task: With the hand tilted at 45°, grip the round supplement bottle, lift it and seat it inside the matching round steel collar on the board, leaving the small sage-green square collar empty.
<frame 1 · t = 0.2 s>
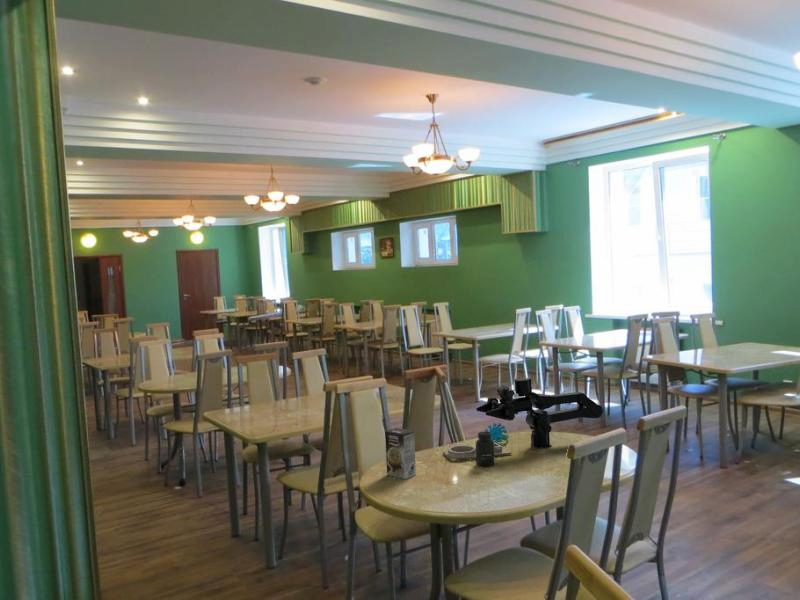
hand: (481, 411, 260), 17 cm above the table, tool horizontal, fingers open, 9 cm apart
coffee box: (401, 475, 239), on the table
socket board: (476, 454, 260), on the table
gear: (496, 443, 276), on the table
supplement bottle: (485, 465, 246), on the table
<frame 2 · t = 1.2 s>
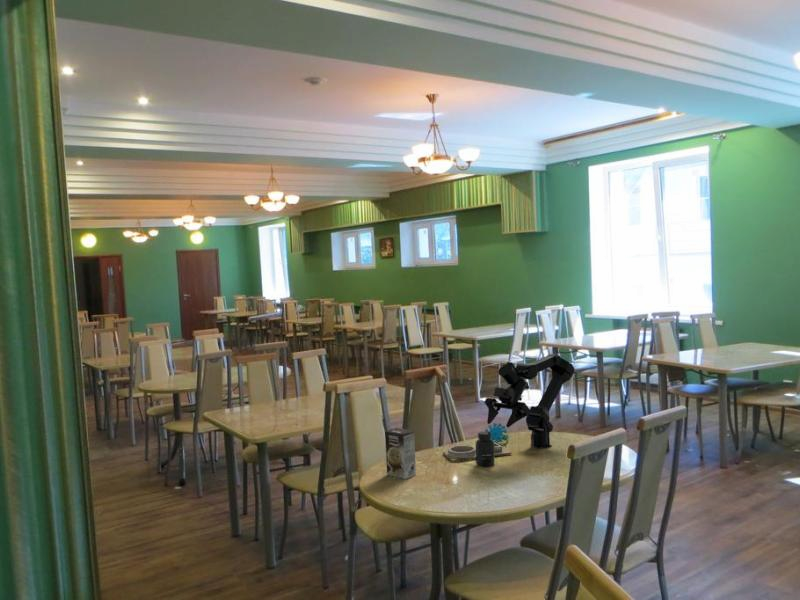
hand: (497, 425, 250), 13 cm above the table, tool tilted 45°, fingers open, 9 cm apart
nothing on the table moved.
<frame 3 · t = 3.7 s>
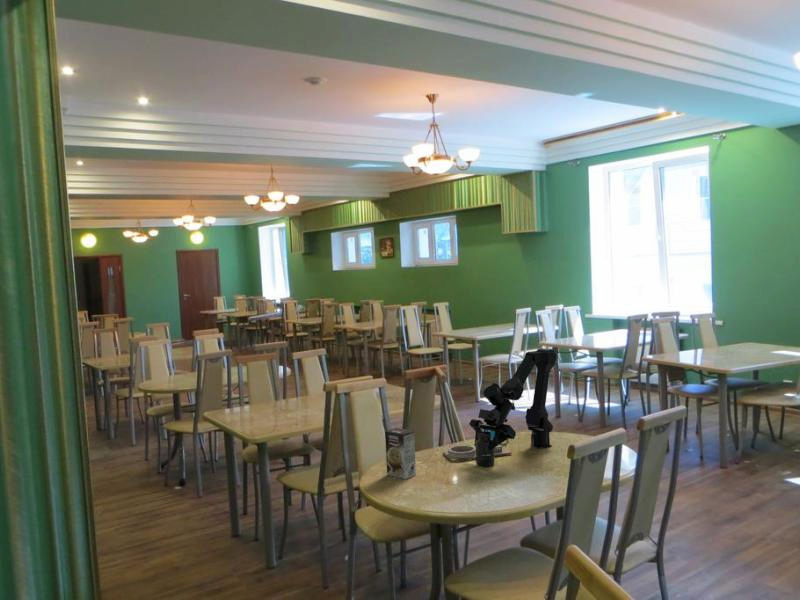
hand: (482, 448, 244), 7 cm above the table, tool tilted 45°, fingers closed on supplement bottle, 7 cm apart
supplement bottle: (485, 465, 246), on the table, touching gripper
everything else where it was.
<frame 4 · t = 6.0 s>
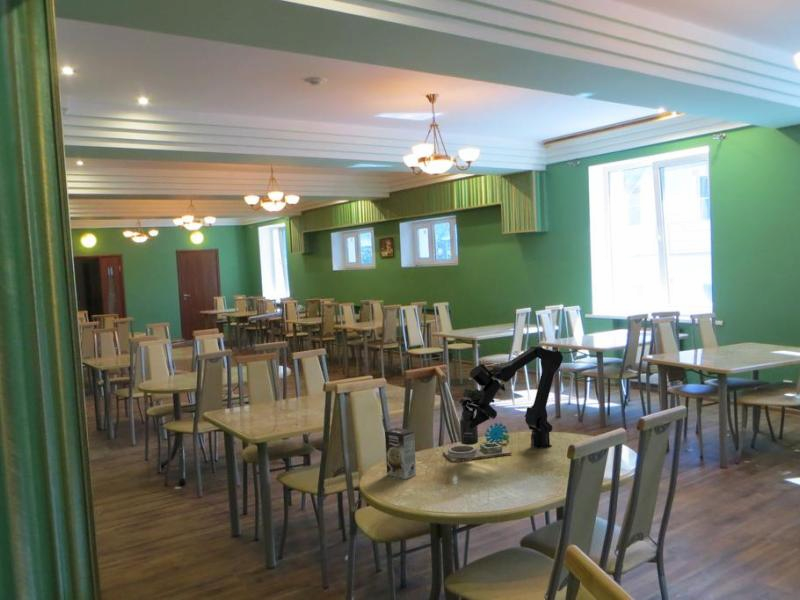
hand: (465, 426, 252), 13 cm above the table, tool tilted 45°, fingers closed on supplement bottle, 7 cm apart
supplement bottle: (469, 443, 253), point 6 cm above the table, touching gripper
everything else where it was.
when the fingers open (8 cm above the table, at t = 8.2 s): supplement bottle stays where it is, resting on socket board.
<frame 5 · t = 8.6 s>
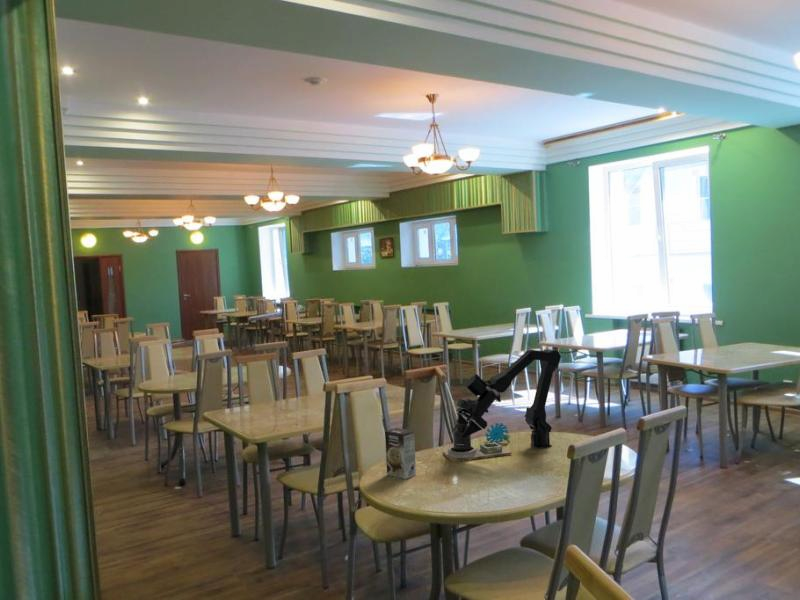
hand: (458, 434, 257), 9 cm above the table, tool tilted 45°, fingers open, 9 cm apart
supplement bottle: (462, 454, 258), point 1 cm above the table, touching socket board
everything else where it was.
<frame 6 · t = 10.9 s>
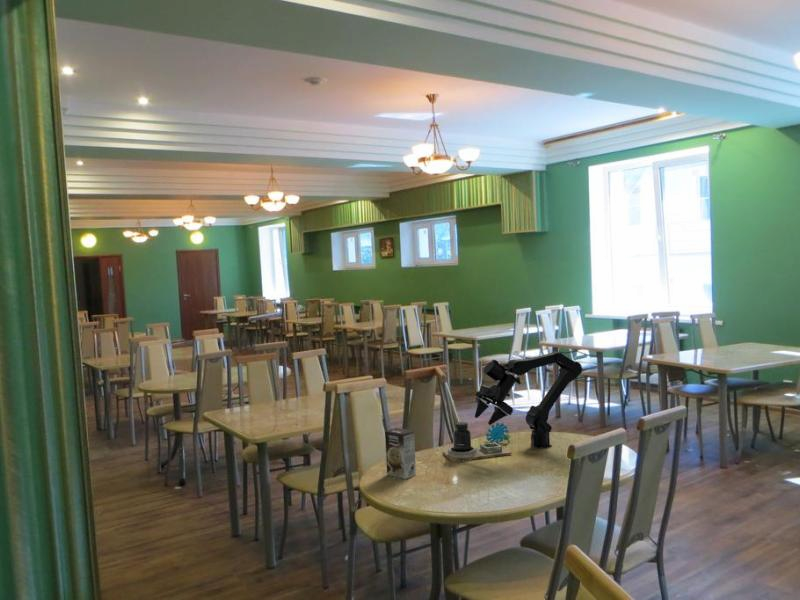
hand: (482, 420, 259), 13 cm above the table, tool tilted 40°, fingers open, 9 cm apart
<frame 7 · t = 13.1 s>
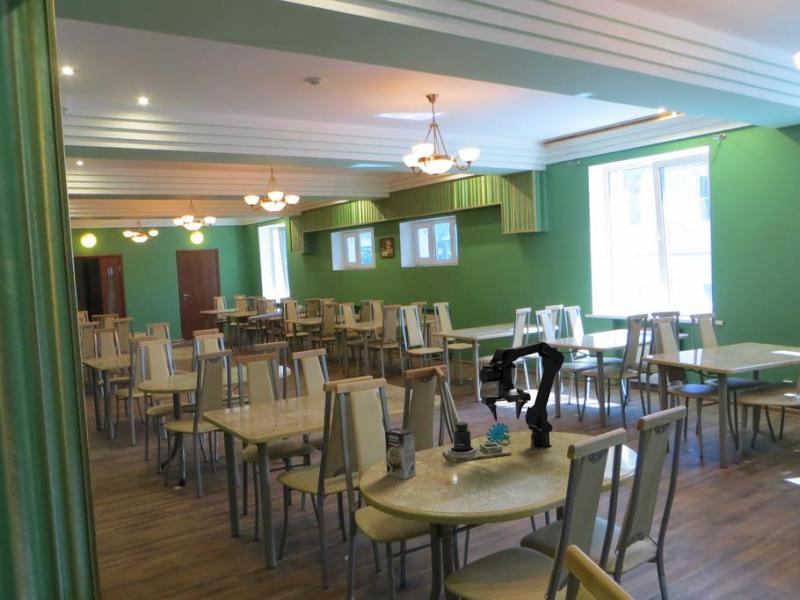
hand: (506, 420, 259), 13 cm above the table, tool pointing down, fingers open, 9 cm apart
at the end: supplement bottle 0.3 cm from the target spot on the socket board, point 0.8 cm above the socket board's base; supplement bottle tilted 0°; the gripper is holding nothing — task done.
